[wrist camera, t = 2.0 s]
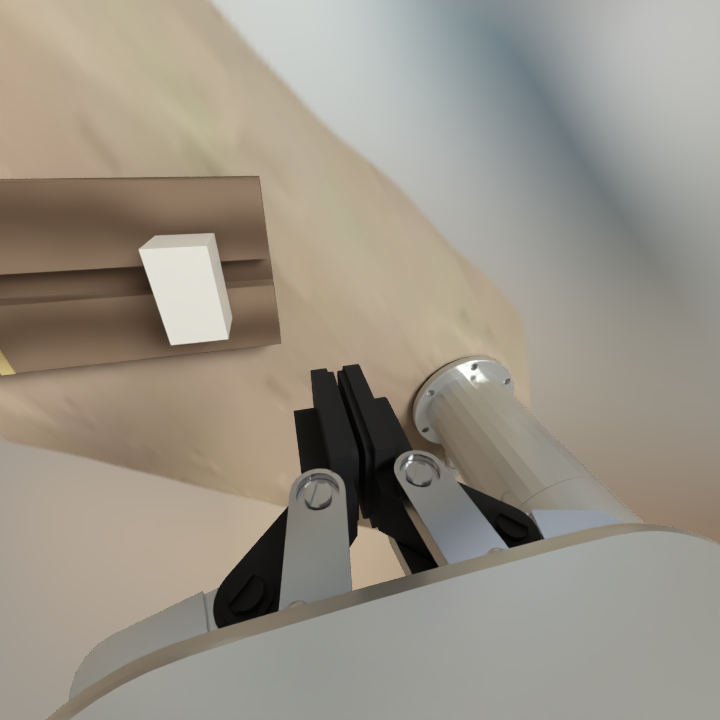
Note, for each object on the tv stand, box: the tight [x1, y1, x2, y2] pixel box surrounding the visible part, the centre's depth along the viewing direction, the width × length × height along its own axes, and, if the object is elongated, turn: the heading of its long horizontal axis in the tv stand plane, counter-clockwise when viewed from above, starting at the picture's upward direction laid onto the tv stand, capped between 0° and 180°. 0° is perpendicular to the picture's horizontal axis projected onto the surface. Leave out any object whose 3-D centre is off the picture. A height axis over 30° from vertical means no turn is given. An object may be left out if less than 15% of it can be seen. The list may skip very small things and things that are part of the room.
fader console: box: [0, 176, 281, 375], centre depth 23 cm, size 12×24×3 cm, turn 89°
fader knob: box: [138, 233, 232, 345], centre depth 23 cm, size 6×4×5 cm, turn 179°
